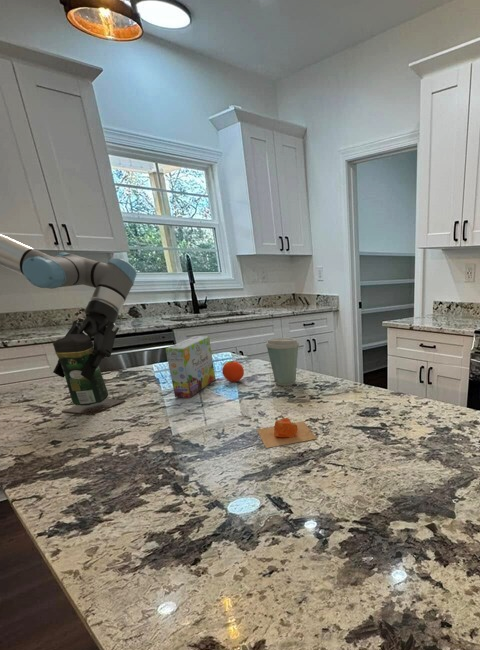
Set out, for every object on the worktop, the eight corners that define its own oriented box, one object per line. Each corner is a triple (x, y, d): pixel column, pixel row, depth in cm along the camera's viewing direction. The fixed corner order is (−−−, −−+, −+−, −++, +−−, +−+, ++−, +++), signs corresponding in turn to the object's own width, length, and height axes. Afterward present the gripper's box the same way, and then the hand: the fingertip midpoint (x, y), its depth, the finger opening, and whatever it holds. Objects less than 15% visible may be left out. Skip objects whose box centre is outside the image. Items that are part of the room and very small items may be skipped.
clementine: (217, 382, 142) (213, 361, 139) (231, 377, 148) (228, 357, 145) (235, 385, 139) (232, 364, 136) (249, 379, 145) (246, 359, 142)
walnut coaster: (61, 412, 116) (61, 410, 116) (98, 399, 126) (98, 397, 126) (90, 415, 114) (90, 413, 113) (125, 401, 124) (125, 400, 124)
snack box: (192, 398, 127) (182, 348, 120) (174, 398, 127) (163, 348, 120) (217, 379, 146) (209, 335, 139) (201, 379, 146) (192, 335, 139)
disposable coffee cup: (274, 378, 146) (269, 335, 139) (305, 378, 145) (301, 335, 139) (266, 387, 136) (260, 341, 130) (299, 387, 136) (295, 341, 129)
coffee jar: (82, 396, 123) (62, 332, 115) (112, 395, 124) (94, 331, 116) (68, 407, 114) (45, 339, 106) (100, 405, 116) (79, 337, 108)
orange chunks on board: (303, 421, 108) (302, 406, 106) (317, 439, 98) (316, 422, 96) (256, 429, 104) (254, 413, 102) (265, 448, 94) (263, 430, 92)
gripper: (144, 317, 121) (114, 385, 114) (85, 314, 126) (53, 380, 119) (125, 299, 114) (92, 371, 107) (63, 297, 119) (28, 366, 112)
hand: (72, 376), depth 113 cm, fingers closed on coffee jar, 9 cm apart
